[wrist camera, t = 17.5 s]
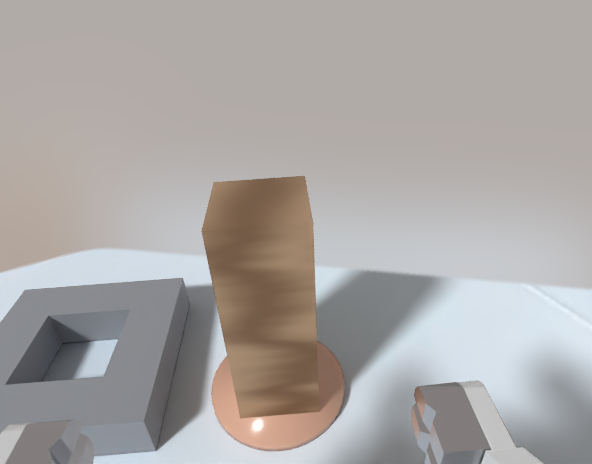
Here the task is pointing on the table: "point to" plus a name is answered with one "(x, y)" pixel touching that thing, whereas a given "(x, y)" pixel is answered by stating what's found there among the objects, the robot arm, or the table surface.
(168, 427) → the table surface
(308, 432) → the terracotta coaster
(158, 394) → the pocket holder
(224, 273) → the walnut block
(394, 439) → the table surface
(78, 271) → the table surface
